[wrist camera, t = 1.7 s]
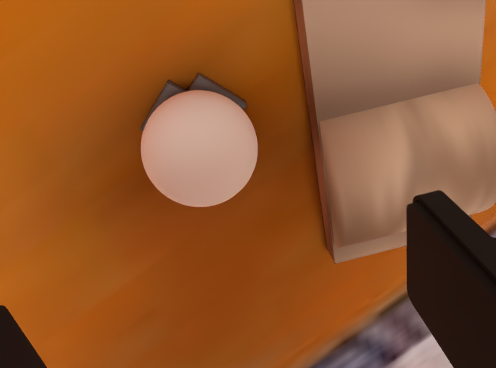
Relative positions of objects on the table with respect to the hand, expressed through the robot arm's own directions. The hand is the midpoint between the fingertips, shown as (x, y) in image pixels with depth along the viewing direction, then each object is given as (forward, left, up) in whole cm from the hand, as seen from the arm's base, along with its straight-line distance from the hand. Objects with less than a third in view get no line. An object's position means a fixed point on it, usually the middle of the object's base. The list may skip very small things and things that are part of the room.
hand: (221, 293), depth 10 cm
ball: (-1, 0, -12) cm, 12 cm away
